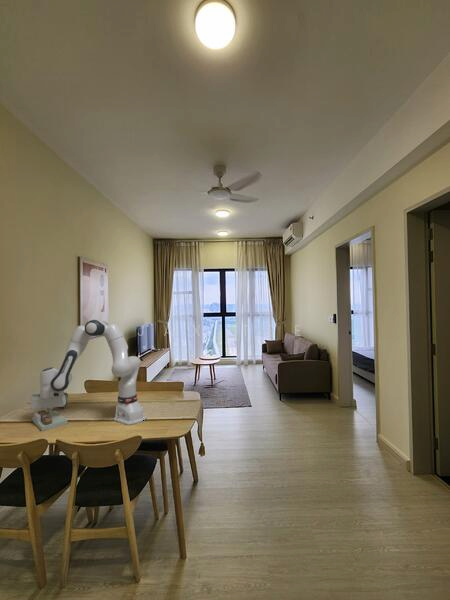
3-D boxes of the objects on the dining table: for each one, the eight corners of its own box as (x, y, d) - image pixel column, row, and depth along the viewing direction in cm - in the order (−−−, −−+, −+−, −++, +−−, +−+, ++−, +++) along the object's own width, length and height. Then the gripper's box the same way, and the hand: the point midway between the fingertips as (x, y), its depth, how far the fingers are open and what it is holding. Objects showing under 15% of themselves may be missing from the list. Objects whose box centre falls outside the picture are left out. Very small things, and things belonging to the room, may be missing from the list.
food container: (72, 406, 211) (72, 392, 212) (65, 409, 205) (65, 395, 206) (58, 405, 215) (58, 391, 215) (52, 408, 209) (51, 394, 209)
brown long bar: (52, 422, 175) (52, 415, 176) (45, 424, 173) (45, 417, 173) (44, 415, 188) (43, 408, 188) (37, 416, 185) (37, 409, 185)
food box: (67, 423, 181) (67, 414, 181) (42, 431, 170) (42, 421, 170) (55, 414, 197) (55, 405, 197) (31, 420, 187) (31, 411, 187)
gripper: (27, 396, 181) (28, 418, 181) (63, 393, 185) (63, 414, 185) (32, 393, 187) (32, 414, 187) (66, 390, 191) (67, 410, 191)
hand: (48, 414), depth 186 cm, fingers closed
